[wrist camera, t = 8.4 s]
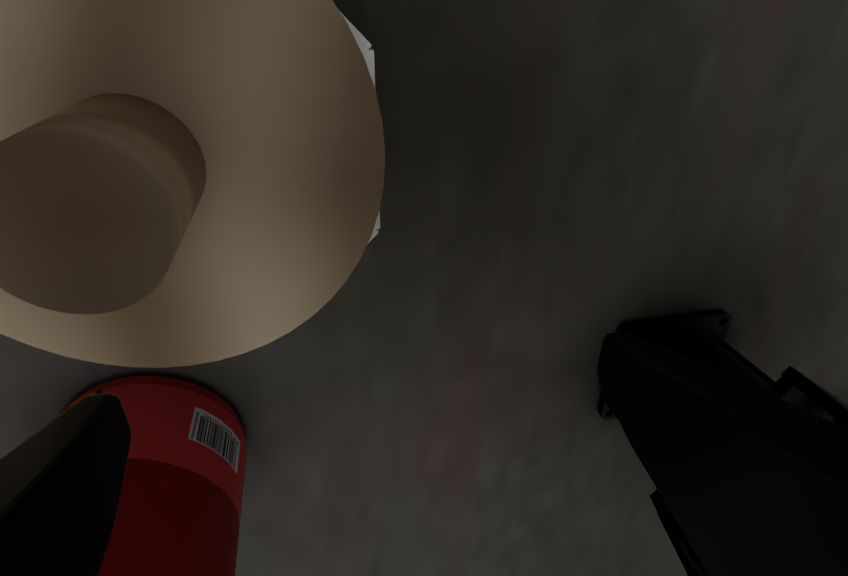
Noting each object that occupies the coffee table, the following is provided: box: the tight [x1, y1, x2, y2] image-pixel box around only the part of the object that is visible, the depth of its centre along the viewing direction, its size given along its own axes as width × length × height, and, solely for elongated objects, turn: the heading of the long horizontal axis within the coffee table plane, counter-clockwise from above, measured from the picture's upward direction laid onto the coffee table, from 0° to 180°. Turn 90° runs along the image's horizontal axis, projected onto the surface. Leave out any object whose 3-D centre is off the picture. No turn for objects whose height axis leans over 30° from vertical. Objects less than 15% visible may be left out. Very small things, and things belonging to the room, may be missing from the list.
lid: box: [0, 0, 385, 368], centre depth 10 cm, size 12×12×5 cm
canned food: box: [58, 375, 247, 576], centre depth 18 cm, size 8×8×11 cm
